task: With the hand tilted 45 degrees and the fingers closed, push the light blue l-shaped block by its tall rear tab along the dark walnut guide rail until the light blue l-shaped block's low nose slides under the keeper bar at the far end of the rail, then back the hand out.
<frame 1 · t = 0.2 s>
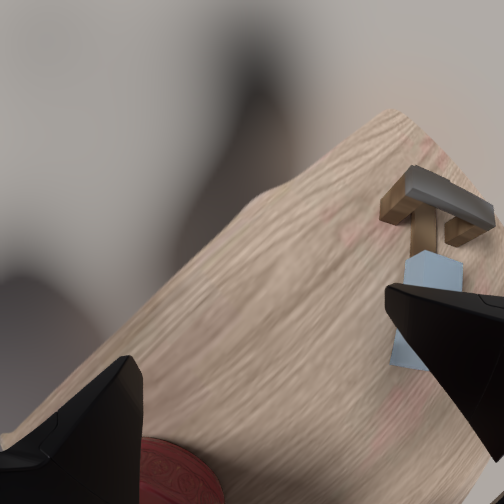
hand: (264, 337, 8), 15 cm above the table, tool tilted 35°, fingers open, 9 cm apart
light blue l-shaped block: (448, 310, 18), point 5 cm above the table, slide at 0.0 cm
canister: (161, 485, 18), on the table
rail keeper: (418, 286, 24), on the table
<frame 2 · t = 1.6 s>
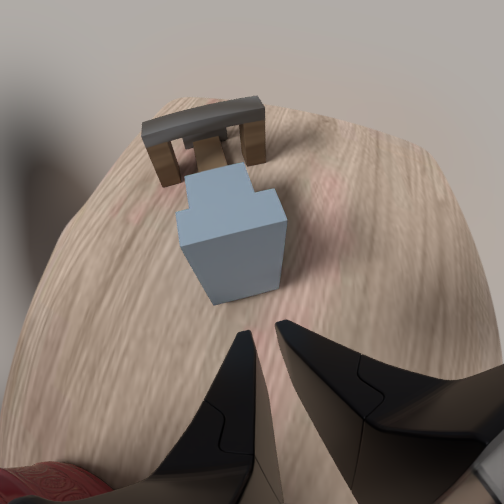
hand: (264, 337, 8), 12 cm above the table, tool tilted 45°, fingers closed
light blue l-shaped block: (224, 207, 19), point 5 cm above the table, slide at 0.0 cm
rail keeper: (225, 218, 25), on the table
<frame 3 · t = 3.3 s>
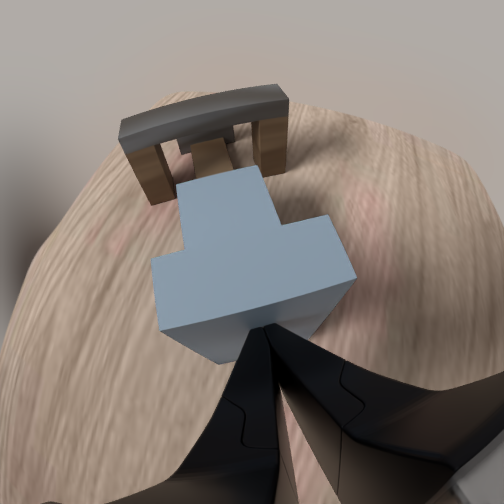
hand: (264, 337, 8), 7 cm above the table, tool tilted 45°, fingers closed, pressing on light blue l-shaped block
light blue l-shaped block: (233, 233, 13), point 5 cm above the table, slide at 0.9 cm, touching gripper
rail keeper: (234, 250, 18), on the table
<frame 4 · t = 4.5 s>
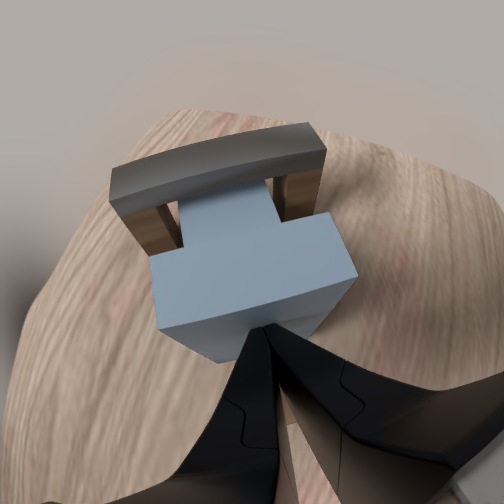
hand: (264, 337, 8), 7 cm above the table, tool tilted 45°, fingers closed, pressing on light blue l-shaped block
light blue l-shaped block: (232, 231, 13), point 5 cm above the table, slide at 6.3 cm, touching gripper
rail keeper: (255, 327, 16), on the table
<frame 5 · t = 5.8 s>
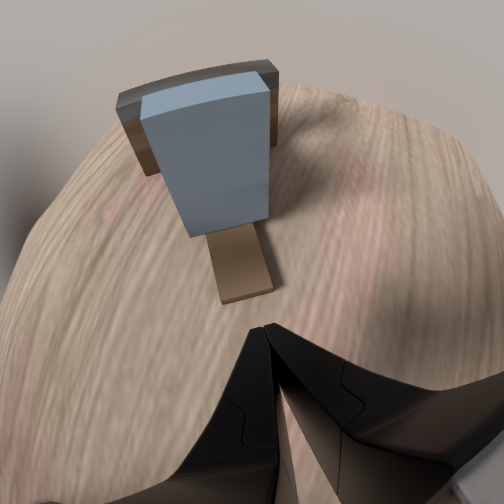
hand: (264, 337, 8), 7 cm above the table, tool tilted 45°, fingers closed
light blue l-shaped block: (204, 122, 15), point 5 cm above the table, slide at 6.4 cm
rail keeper: (225, 215, 18), on the table
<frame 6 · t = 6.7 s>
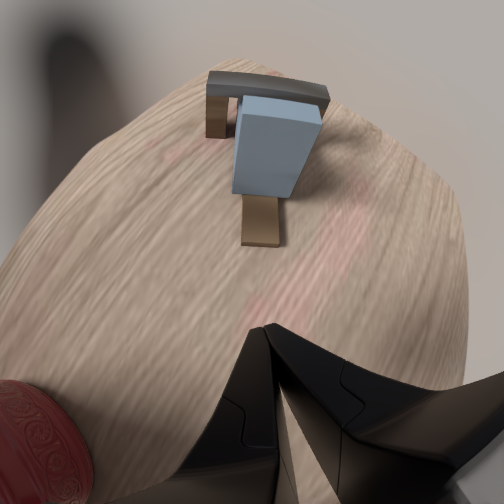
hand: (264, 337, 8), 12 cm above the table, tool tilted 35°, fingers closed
light blue l-shaped block: (268, 119, 21), point 5 cm above the table, slide at 6.4 cm
canister: (38, 445, 13), on the table
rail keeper: (259, 186, 25), on the table
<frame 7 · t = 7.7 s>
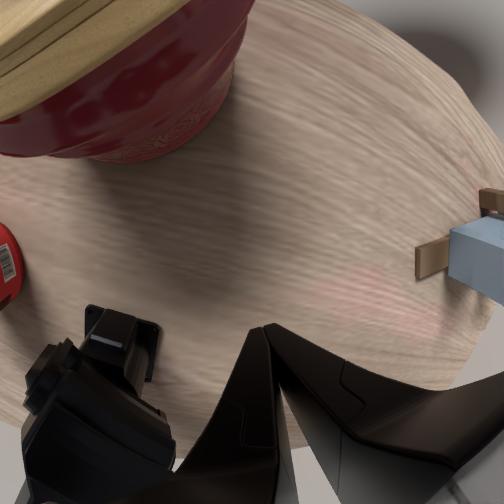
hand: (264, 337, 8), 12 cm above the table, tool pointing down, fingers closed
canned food: (0, 258, 17), on the table
light blue l-shaped block: (503, 253, 19), point 5 cm above the table, slide at 6.4 cm
canister: (142, 79, 16), on the table
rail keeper: (452, 247, 24), on the table
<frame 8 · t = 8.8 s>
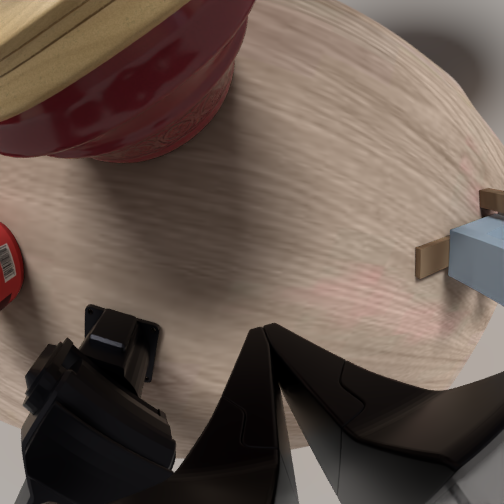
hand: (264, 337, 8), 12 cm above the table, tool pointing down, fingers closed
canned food: (0, 258, 17), on the table
light blue l-shaped block: (503, 253, 19), point 5 cm above the table, slide at 6.4 cm
canister: (142, 79, 16), on the table
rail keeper: (452, 247, 24), on the table
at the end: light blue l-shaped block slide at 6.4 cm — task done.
